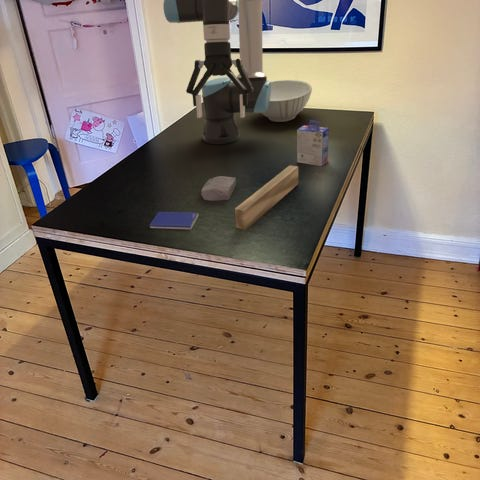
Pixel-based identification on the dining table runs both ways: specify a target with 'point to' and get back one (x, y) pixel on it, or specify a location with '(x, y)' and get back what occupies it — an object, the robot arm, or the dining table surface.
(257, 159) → the dining table surface
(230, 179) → the stone block
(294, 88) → the decorative bowl
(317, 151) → the ink cartridge box
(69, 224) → the dining table surface
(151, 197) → the dining table surface
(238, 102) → the robot arm
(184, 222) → the hard drive
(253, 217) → the oak board
